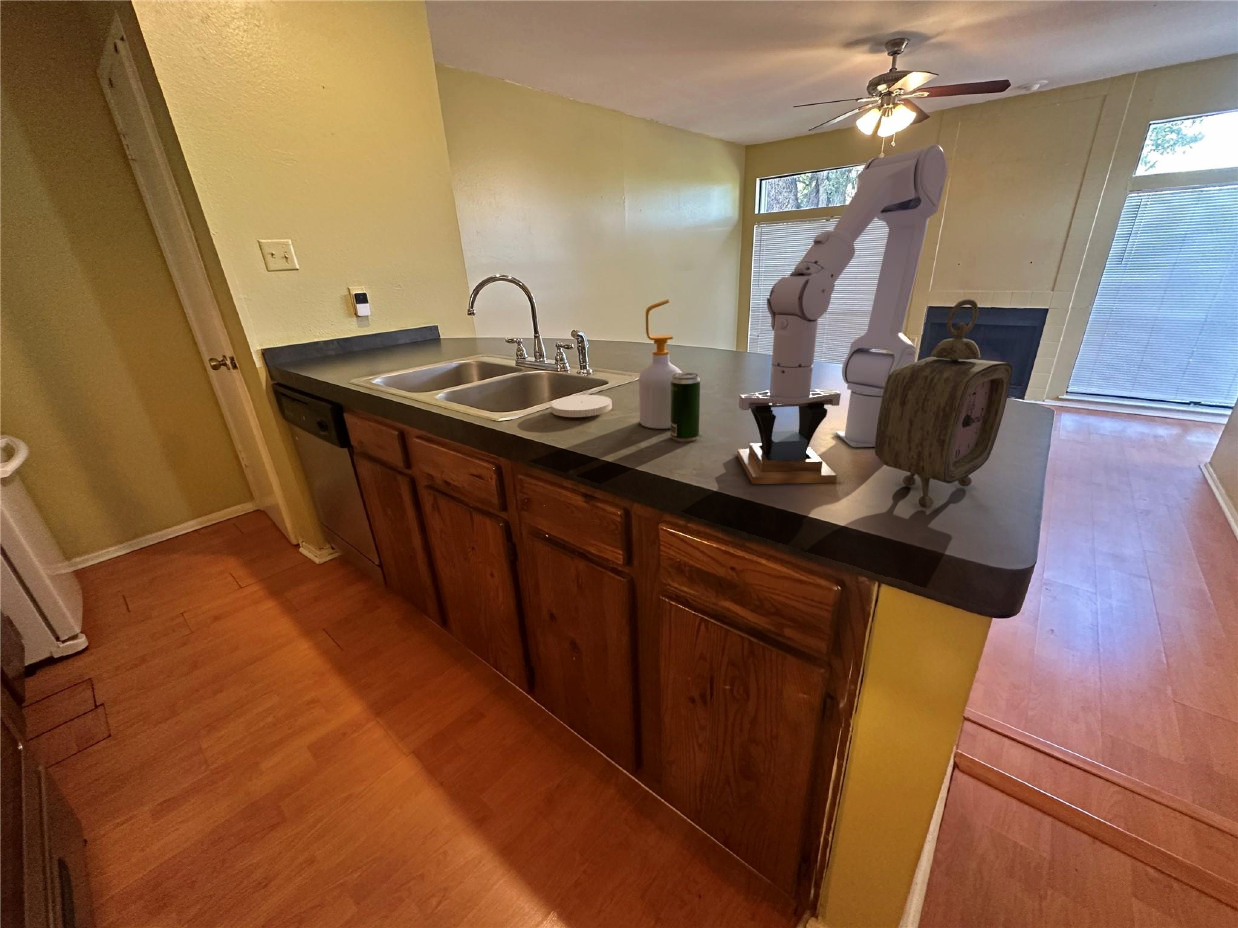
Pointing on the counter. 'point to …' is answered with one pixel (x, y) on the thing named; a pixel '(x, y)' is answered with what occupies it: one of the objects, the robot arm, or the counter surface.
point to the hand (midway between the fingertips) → (784, 451)
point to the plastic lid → (581, 405)
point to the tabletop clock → (943, 411)
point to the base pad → (784, 468)
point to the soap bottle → (656, 383)
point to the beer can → (685, 406)
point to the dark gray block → (787, 446)
